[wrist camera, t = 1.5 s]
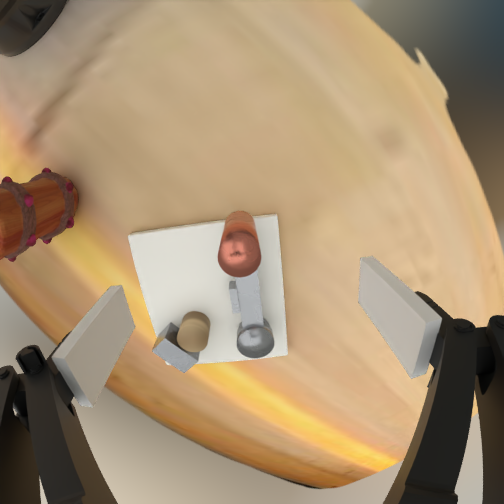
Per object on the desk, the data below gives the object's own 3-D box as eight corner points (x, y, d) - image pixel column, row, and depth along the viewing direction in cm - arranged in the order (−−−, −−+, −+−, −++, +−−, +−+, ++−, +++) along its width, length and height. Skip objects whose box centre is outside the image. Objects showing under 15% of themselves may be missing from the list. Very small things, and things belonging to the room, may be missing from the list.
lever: (273, 345, 35) (283, 406, 25) (239, 348, 35) (239, 411, 25) (259, 205, 29) (269, 232, 19) (216, 210, 29) (204, 240, 19)
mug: (73, 154, 28) (-15, 165, 13) (99, 211, 30) (19, 253, 16) (11, 210, 29) (-61, 242, 15) (33, 258, 32) (-33, 305, 18)
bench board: (131, 233, 31) (125, 237, 29) (276, 213, 31) (278, 217, 29) (168, 359, 38) (165, 368, 36) (286, 349, 38) (288, 358, 36)
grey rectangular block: (158, 334, 35) (151, 351, 31) (170, 321, 34) (164, 338, 31) (187, 356, 36) (184, 373, 33) (201, 344, 35) (198, 361, 32)
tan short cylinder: (179, 312, 34) (173, 328, 30) (207, 309, 34) (204, 326, 30) (185, 335, 35) (181, 352, 31) (212, 333, 35) (210, 351, 31)
